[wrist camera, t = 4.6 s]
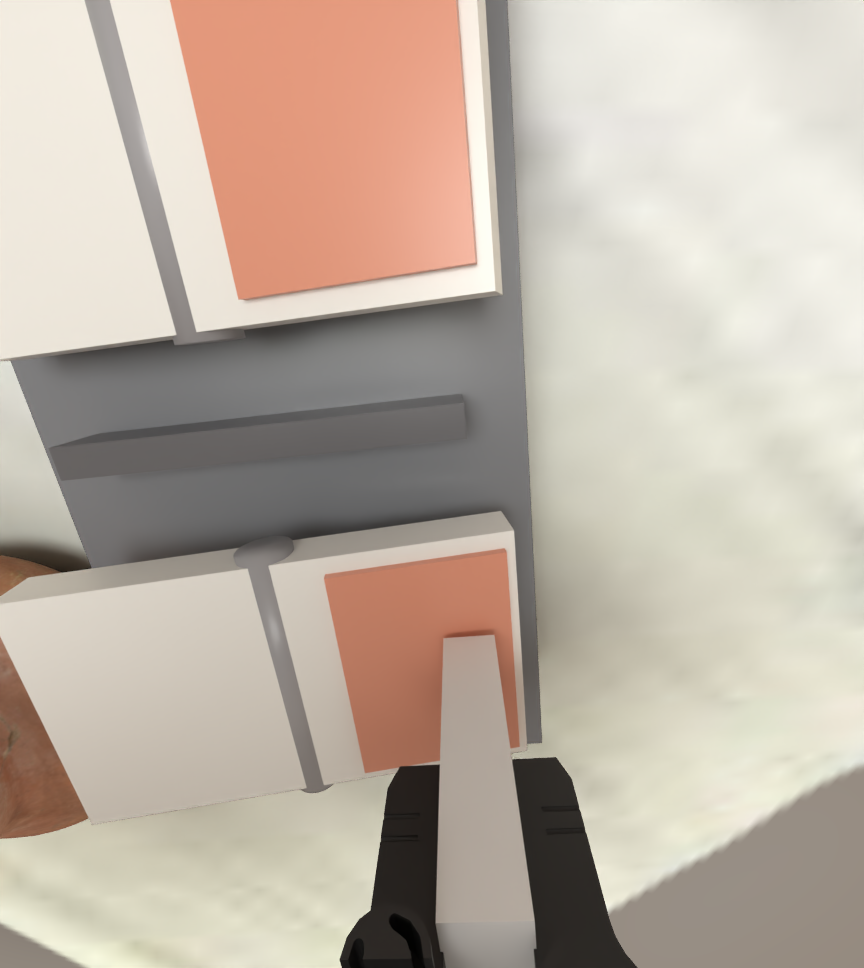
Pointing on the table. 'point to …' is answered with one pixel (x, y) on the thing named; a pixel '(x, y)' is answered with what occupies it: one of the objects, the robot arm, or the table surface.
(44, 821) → the ceramic jug
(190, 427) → the breaker panel
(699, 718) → the table surface
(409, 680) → the breaker
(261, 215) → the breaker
